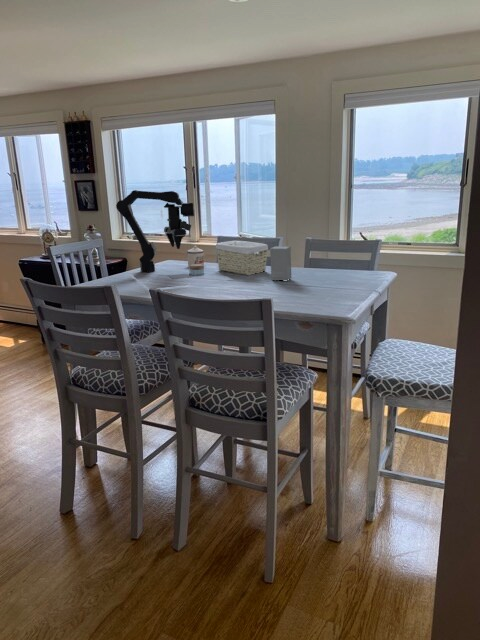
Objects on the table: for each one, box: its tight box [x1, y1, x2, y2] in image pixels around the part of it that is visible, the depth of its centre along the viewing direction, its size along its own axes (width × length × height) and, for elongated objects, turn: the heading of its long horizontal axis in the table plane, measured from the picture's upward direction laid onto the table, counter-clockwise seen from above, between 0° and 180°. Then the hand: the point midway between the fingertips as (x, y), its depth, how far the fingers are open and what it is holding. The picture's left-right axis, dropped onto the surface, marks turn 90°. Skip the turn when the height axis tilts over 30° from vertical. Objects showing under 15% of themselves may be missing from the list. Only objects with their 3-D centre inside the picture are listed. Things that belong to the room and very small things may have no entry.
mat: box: [166, 273, 193, 280], centre depth 231 cm, size 10×10×1 cm
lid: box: [189, 264, 205, 270], centre depth 237 cm, size 7×7×2 cm
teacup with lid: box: [186, 245, 206, 269], centre depth 260 cm, size 12×9×12 cm
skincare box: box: [269, 245, 292, 280], centre depth 221 cm, size 8×7×16 cm
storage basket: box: [215, 240, 269, 276], centre depth 245 cm, size 24×16×15 cm
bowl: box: [188, 268, 205, 276], centre depth 237 cm, size 7×7×4 cm
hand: (175, 247), depth 241 cm, fingers open, 9 cm apart
